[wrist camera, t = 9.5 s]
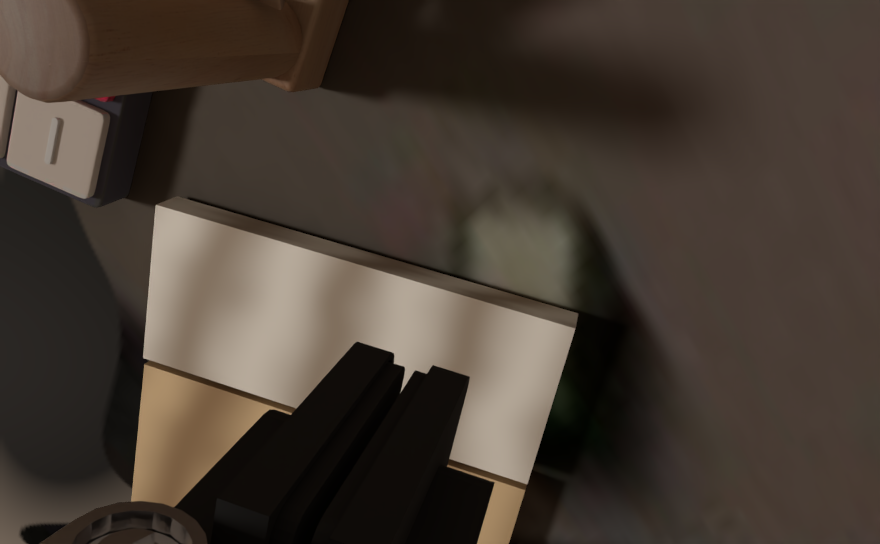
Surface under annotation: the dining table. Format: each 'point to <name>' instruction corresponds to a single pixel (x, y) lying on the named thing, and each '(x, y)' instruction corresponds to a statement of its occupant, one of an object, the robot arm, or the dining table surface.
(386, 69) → the dining table surface
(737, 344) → the dining table surface
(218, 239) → the ash plank
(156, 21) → the wooden block
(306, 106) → the dining table surface
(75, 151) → the calculator
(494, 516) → the oak board
